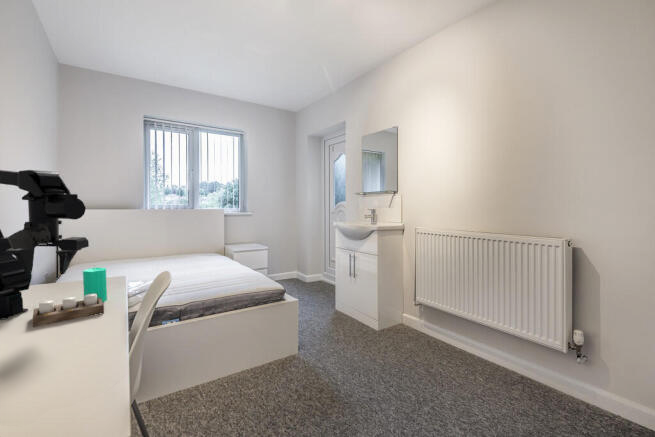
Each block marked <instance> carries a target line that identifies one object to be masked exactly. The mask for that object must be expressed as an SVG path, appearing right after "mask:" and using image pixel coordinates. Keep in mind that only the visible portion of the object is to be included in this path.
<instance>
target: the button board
mask: <svg viewBox="0 0 655 437" xmlns="http://www.w3.org/2000/svg"><path fill="white" fill-rule="evenodd" d="M76 306H77V308H72V309H66V310H63V303H60V304H56V305H55V304H54V312H50V313H44V314H39V307H38V308H33V312H32V327H33V328H36V327H37V328H38V327H42V326H47V325H51V324H57V323H60V322H61V323H62V322H67V321H72V320H76V319H82V318H86V317H92V316H96V315H95V314H97V315H101V314H100V313H102V314H105V306H104V302H102V300H101V298H97V304H94V305H89V306H84V299H83V300H79V301H77V300H76ZM91 315H92V316H91Z"/></svg>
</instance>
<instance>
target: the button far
mask: <svg viewBox="0 0 655 437" xmlns="http://www.w3.org/2000/svg"><path fill="white" fill-rule="evenodd" d="M83 300H84V306H89V305H94V304H97V294H88V295H85V296H84V295H83Z"/></svg>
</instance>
